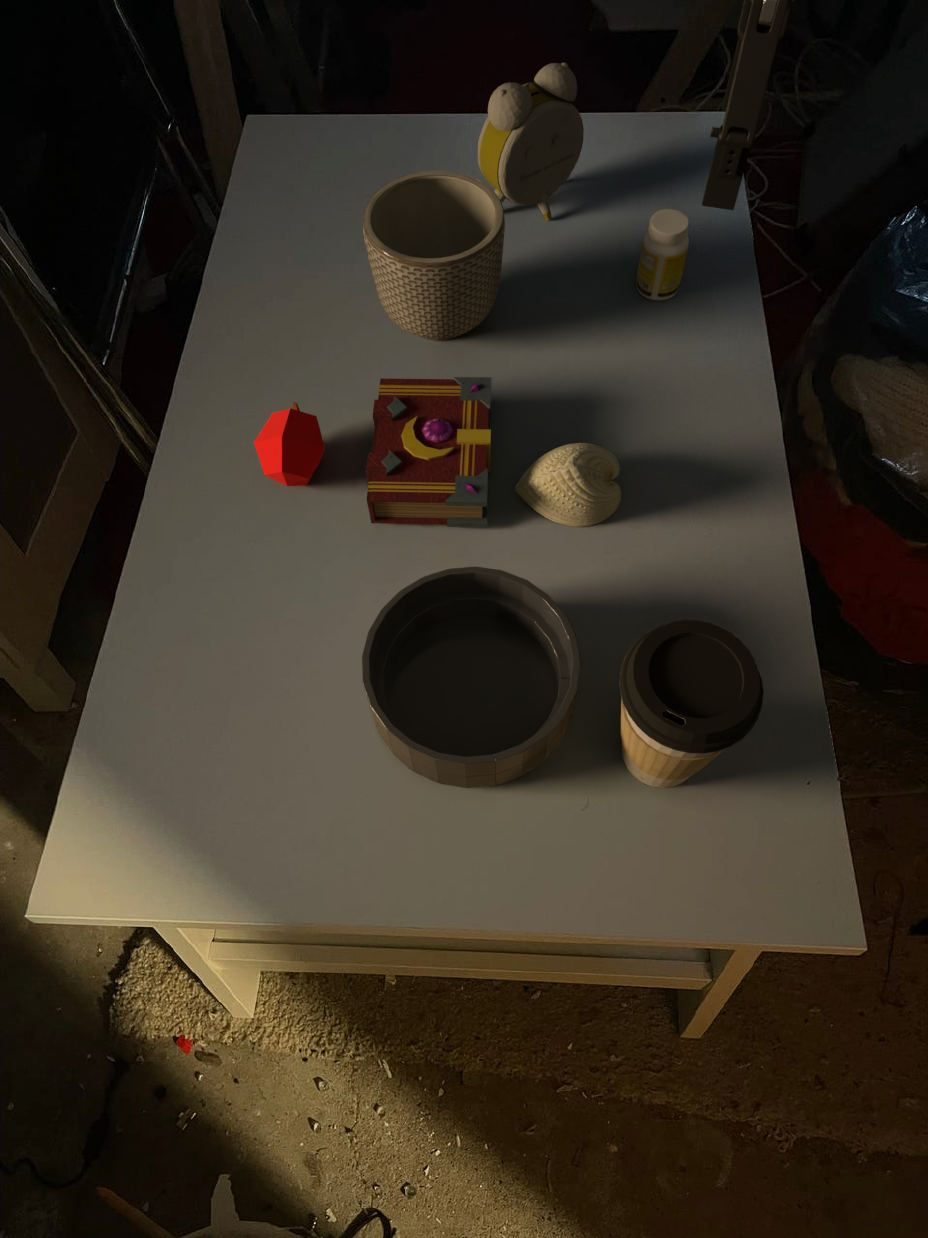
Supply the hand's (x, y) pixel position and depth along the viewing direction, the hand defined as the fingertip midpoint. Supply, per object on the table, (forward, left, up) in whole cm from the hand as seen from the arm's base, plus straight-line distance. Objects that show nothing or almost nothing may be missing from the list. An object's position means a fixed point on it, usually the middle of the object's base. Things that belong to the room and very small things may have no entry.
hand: (727, 156), depth 79 cm
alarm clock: (+23, -11, -20) cm, 32 cm away
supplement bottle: (+5, -4, -20) cm, 20 cm away
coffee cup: (-14, +47, -20) cm, 53 cm away
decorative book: (+17, +28, -20) cm, 38 cm away
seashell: (+3, +26, -20) cm, 33 cm away
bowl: (+3, +49, -19) cm, 53 cm away
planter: (+25, +10, -20) cm, 33 cm away
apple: (+29, +34, -20) cm, 49 cm away
